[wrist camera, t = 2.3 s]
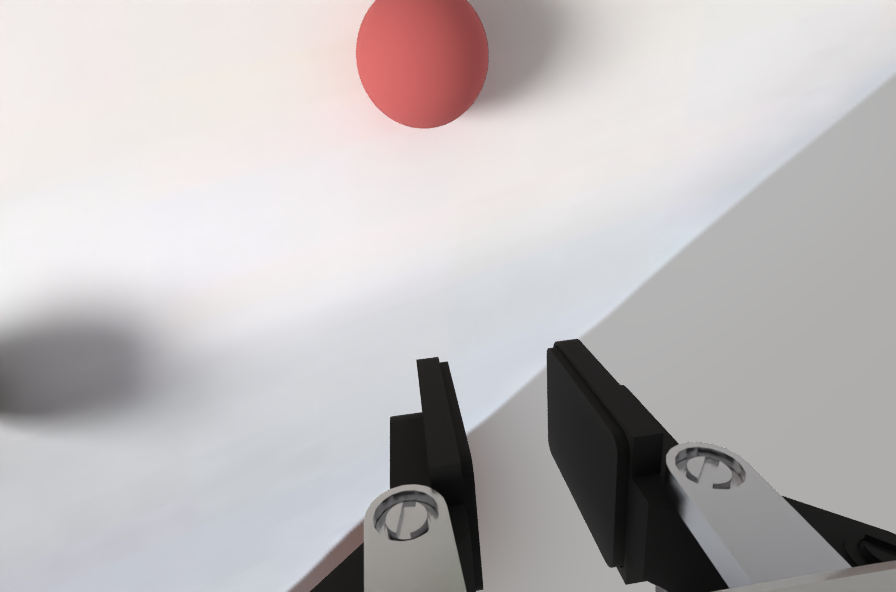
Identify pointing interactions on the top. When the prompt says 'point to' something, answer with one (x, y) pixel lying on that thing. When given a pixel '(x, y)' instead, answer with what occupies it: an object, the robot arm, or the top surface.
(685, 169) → the top surface
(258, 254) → the top surface
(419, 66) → the ball
